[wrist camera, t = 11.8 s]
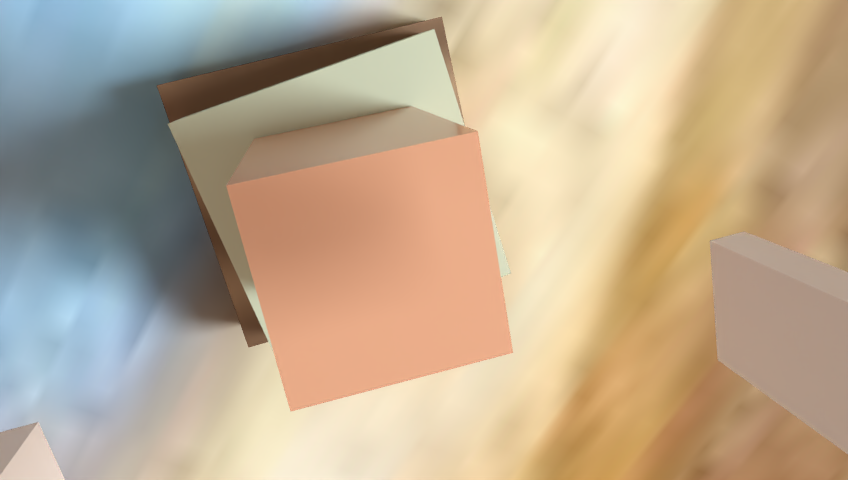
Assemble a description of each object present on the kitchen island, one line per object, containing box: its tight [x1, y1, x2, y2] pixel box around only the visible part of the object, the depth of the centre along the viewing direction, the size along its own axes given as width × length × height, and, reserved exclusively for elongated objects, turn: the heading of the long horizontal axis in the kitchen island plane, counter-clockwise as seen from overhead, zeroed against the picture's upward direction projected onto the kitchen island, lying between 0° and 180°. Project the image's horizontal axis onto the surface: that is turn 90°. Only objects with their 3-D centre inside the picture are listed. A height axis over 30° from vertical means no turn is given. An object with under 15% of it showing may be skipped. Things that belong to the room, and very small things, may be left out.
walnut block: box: [157, 17, 464, 347], centre depth 35 cm, size 14×14×4 cm
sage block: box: [168, 29, 511, 353], centre depth 31 cm, size 12×12×4 cm
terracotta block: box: [226, 106, 513, 411], centre depth 24 cm, size 7×7×11 cm
